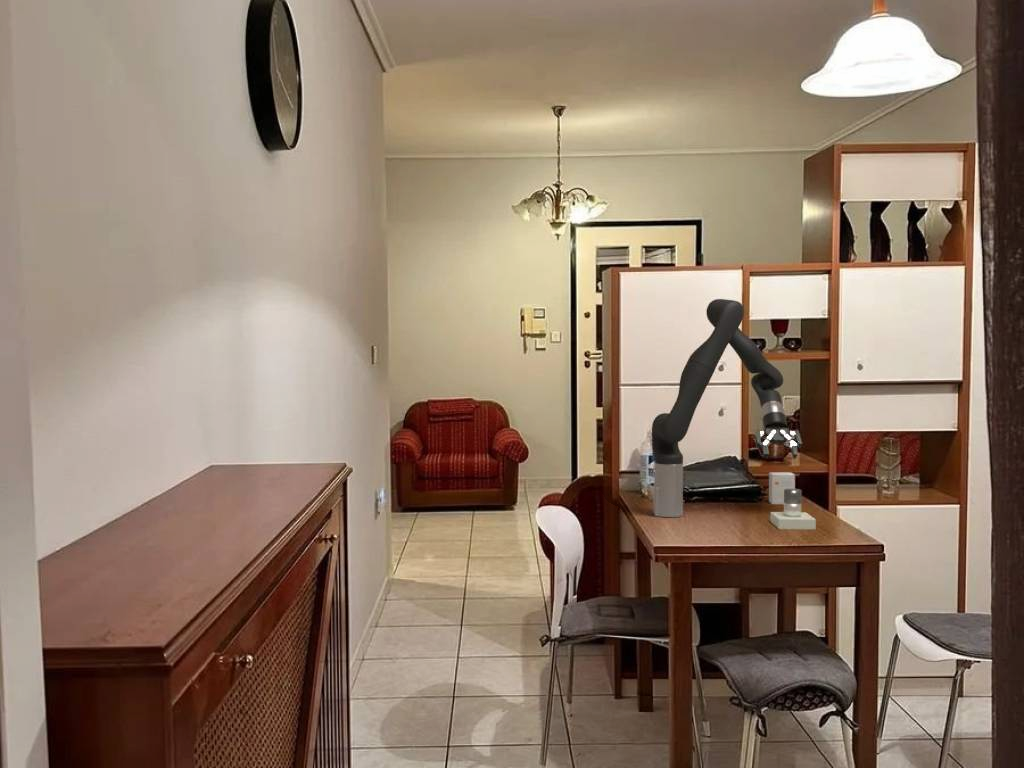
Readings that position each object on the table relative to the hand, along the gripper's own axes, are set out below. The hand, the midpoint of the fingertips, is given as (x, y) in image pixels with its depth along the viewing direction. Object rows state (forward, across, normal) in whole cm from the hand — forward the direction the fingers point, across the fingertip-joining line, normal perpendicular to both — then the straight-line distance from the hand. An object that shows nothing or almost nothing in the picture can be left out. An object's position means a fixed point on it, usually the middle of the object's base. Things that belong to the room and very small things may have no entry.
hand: (781, 457), depth 290 cm
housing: (+19, +2, +5) cm, 20 cm away
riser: (+21, +2, +7) cm, 22 cm away
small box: (-4, +7, +33) cm, 34 cm away
